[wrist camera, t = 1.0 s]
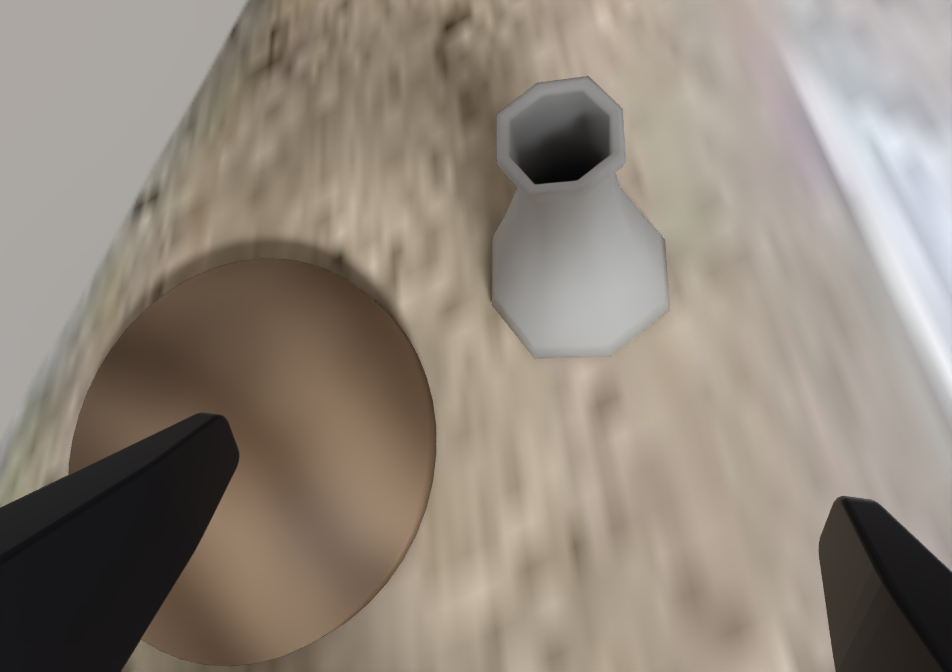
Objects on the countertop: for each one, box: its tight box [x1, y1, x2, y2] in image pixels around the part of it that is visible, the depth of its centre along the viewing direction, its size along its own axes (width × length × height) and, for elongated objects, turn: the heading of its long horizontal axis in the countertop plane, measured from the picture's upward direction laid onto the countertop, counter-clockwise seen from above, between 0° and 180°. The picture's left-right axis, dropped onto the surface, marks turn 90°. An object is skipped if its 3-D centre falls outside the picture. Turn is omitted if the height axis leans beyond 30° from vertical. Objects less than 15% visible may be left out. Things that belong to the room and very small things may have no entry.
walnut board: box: [69, 259, 436, 666], centre depth 24 cm, size 16×16×1 cm
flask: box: [492, 76, 670, 359], centre depth 19 cm, size 7×7×10 cm
